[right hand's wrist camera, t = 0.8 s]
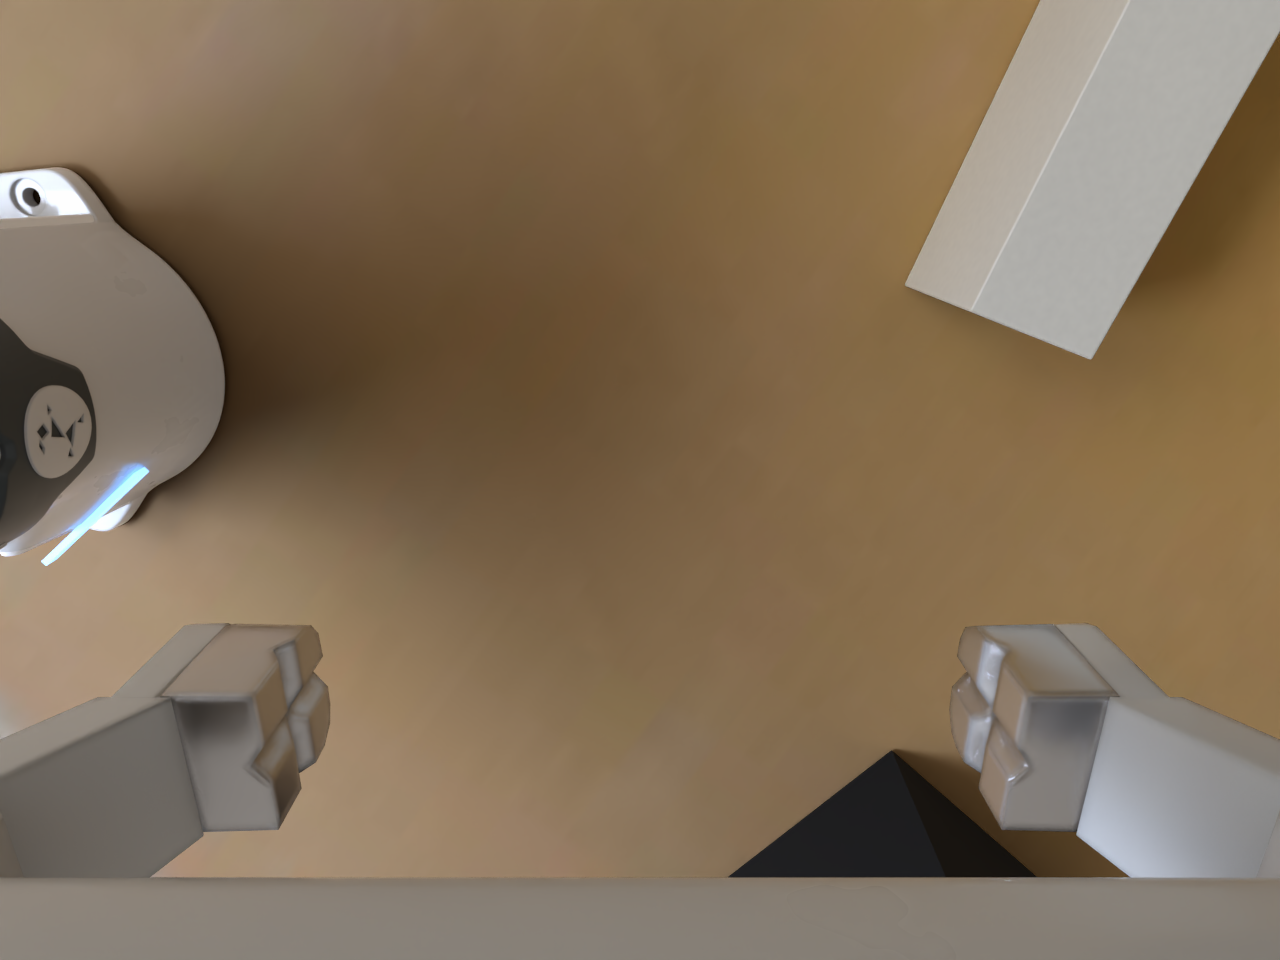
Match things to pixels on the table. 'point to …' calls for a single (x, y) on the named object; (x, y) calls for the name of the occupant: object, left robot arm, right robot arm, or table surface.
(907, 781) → the cardboard box
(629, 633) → the table surface
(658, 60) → the table surface
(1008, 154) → the bar
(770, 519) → the table surface
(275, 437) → the table surface
